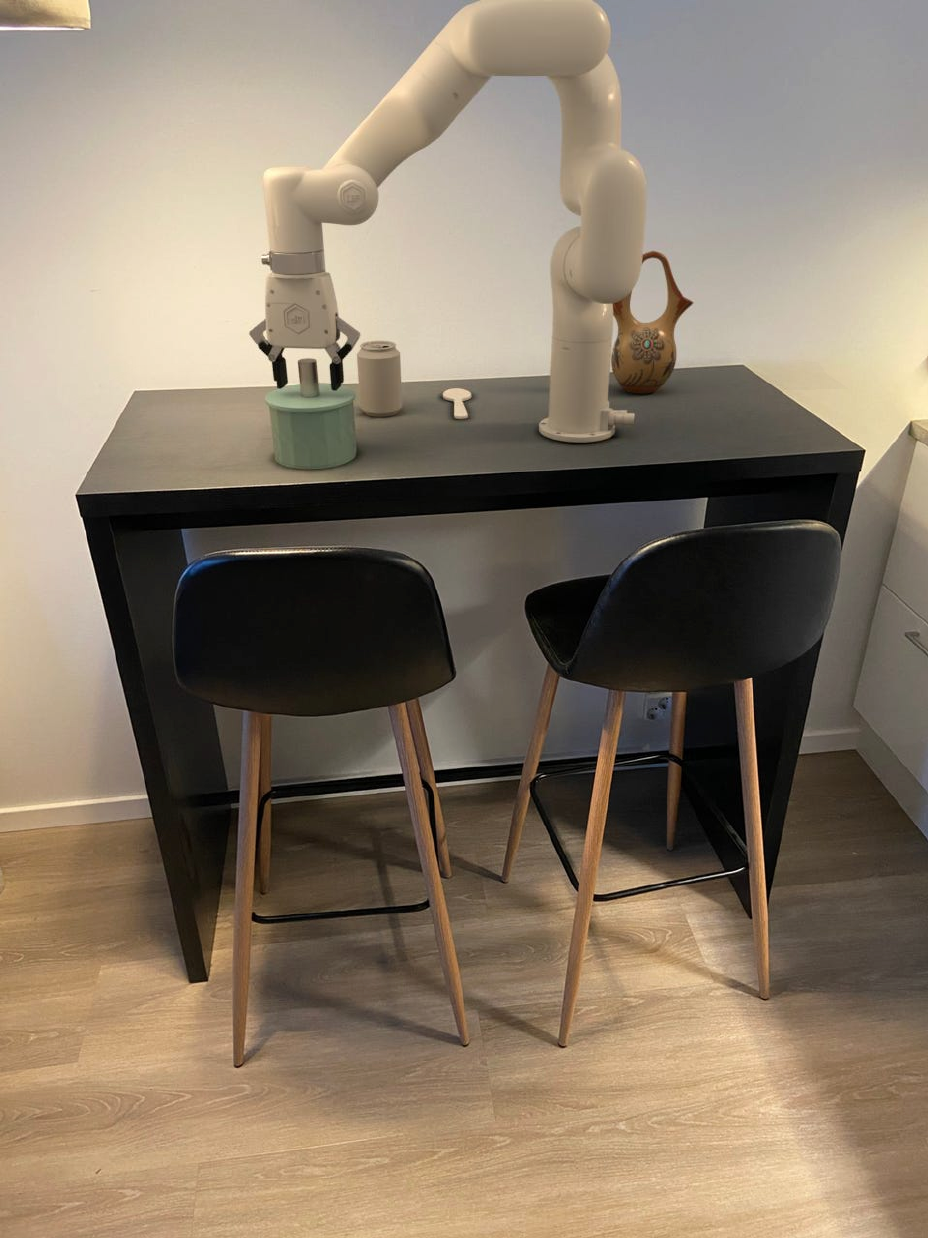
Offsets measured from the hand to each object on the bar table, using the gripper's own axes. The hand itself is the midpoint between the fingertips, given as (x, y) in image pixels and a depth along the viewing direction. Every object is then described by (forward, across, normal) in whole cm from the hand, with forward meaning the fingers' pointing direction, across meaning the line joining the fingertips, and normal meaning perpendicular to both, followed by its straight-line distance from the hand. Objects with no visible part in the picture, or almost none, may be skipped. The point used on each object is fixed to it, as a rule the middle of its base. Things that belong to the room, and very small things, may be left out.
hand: (309, 386), depth 138 cm
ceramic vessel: (+11, +51, +43) cm, 68 cm away
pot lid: (+2, 0, 0) cm, 2 cm away
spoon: (+11, +18, +30) cm, 37 cm away
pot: (+11, 0, 0) cm, 11 cm away
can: (+11, +5, +24) cm, 27 cm away
